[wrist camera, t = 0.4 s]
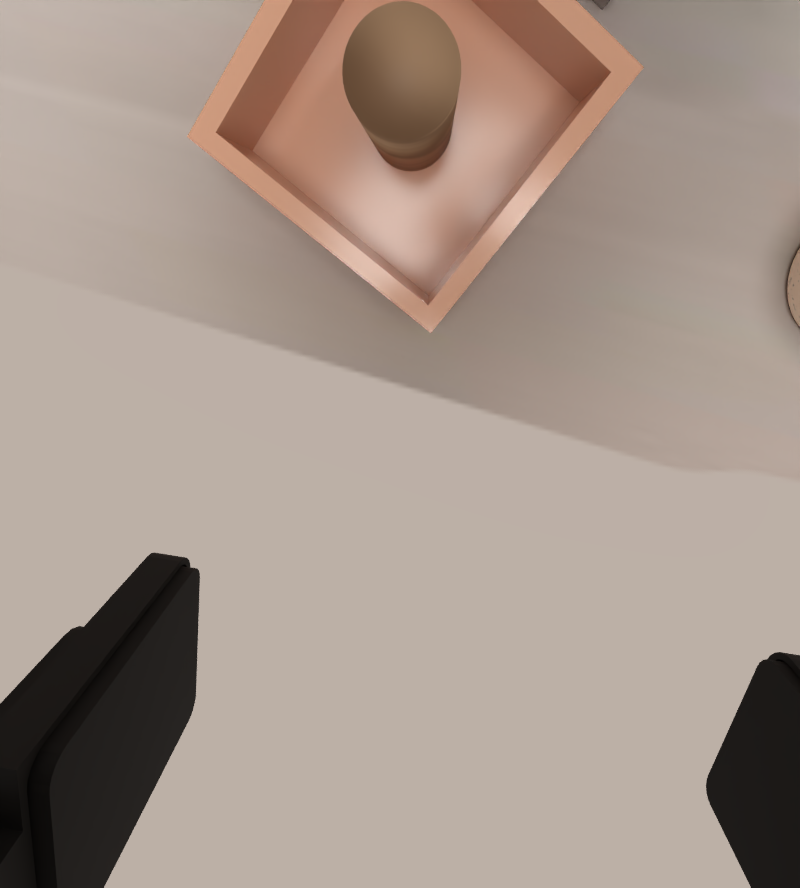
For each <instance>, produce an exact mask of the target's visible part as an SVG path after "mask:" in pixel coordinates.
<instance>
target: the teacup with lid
mask: <svg viewBox="0 0 800 888" xmlns="http://www.w3.org/2000/svg"><path fill="white" fill-rule="evenodd" d="M787 294H788V302H789V306H790V310H791V313H792V315H793V317H794V319H795V321H796V322H797V324H798V325H799V327H800V248H799V250H798V252H797V254H796V256H795V258H794V260H793V263H792V266H791V269H790V273H789V278H788V287H787Z"/></svg>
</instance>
